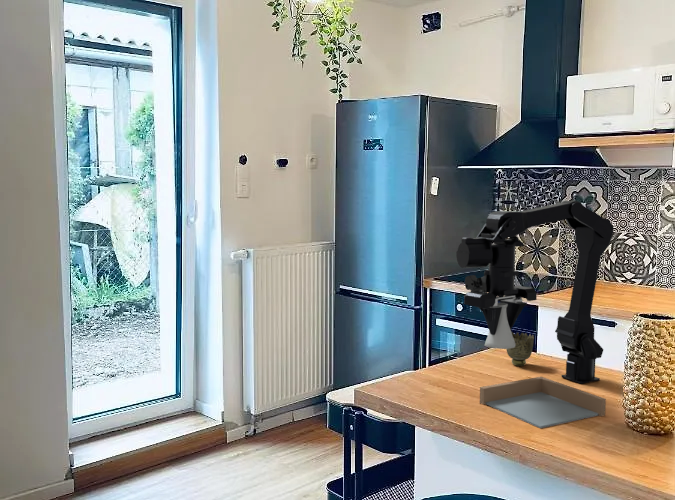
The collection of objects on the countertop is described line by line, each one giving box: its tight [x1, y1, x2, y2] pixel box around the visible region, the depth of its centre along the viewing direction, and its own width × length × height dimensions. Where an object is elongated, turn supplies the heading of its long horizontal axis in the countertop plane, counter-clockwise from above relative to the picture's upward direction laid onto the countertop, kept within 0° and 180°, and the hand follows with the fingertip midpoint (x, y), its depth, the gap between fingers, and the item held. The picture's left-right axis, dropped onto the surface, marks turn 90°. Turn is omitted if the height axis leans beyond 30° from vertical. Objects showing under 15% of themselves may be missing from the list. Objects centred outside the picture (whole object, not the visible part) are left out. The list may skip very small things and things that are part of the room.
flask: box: [484, 302, 515, 350], centre depth 149 cm, size 7×7×10 cm
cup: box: [505, 331, 535, 367], centre depth 170 cm, size 8×7×8 cm
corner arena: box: [479, 376, 607, 429], centre depth 135 cm, size 18×18×4 cm
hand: (500, 333), depth 149 cm, fingers closed on flask, 5 cm apart
